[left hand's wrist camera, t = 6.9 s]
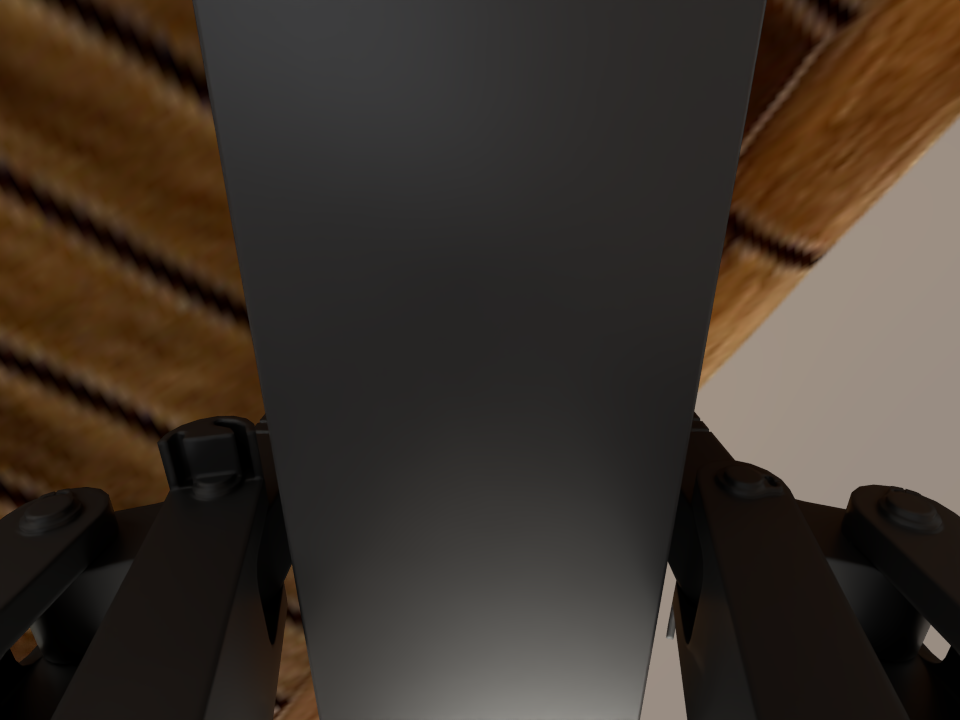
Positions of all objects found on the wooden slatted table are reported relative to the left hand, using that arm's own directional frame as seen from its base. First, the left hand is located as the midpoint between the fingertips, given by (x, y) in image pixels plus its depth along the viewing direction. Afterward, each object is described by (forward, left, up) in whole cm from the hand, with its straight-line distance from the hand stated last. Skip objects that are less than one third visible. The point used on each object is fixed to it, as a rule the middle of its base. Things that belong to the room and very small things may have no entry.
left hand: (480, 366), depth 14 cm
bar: (-6, +10, -1) cm, 11 cm away
